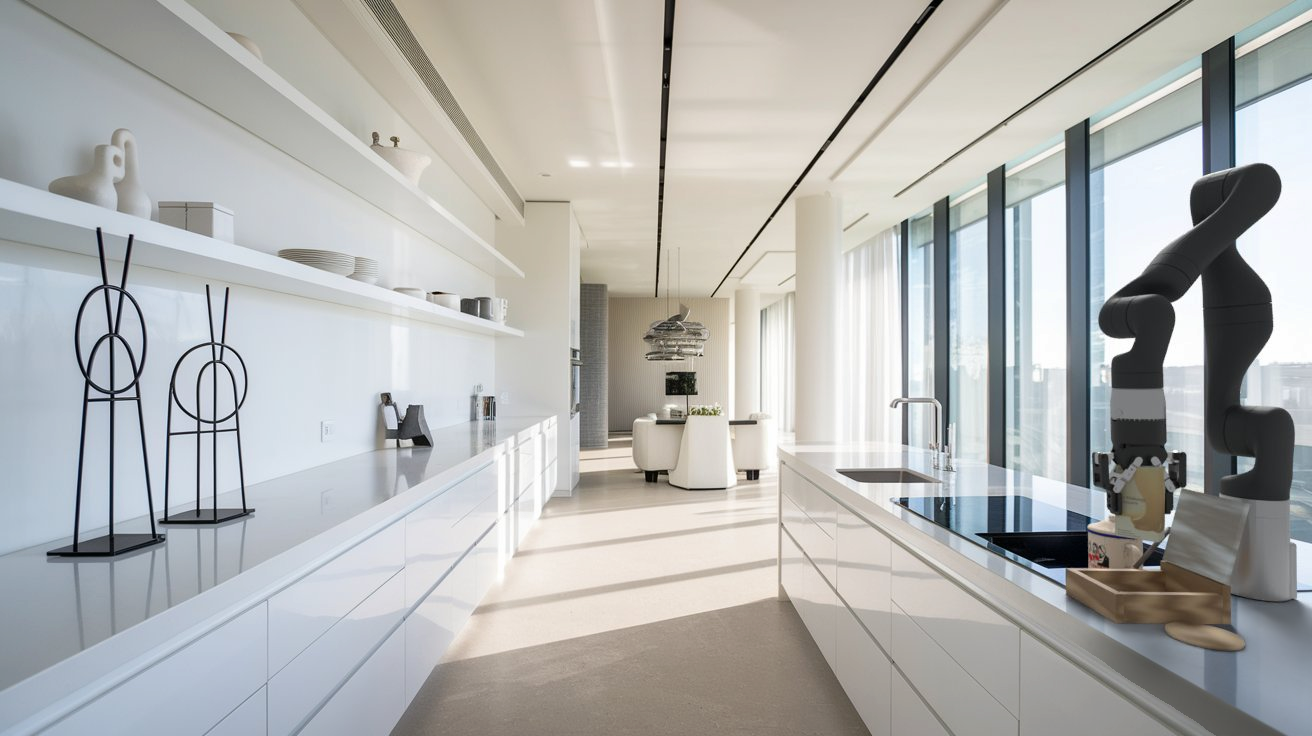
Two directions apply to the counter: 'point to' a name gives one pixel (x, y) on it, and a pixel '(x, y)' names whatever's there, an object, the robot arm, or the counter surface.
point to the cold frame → (1173, 569)
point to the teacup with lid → (1111, 547)
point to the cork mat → (1204, 636)
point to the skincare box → (1142, 505)
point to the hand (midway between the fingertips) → (1139, 513)
